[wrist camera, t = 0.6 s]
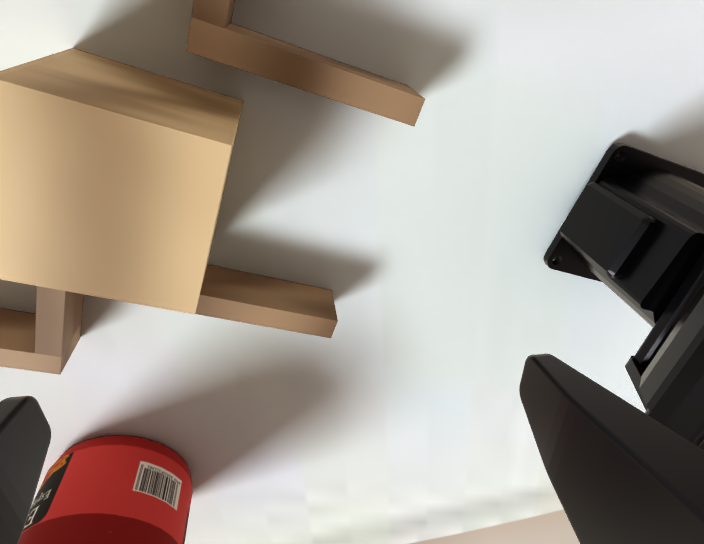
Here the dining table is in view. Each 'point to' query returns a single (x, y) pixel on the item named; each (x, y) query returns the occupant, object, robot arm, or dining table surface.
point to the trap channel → (219, 283)
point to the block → (110, 179)
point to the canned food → (112, 495)
